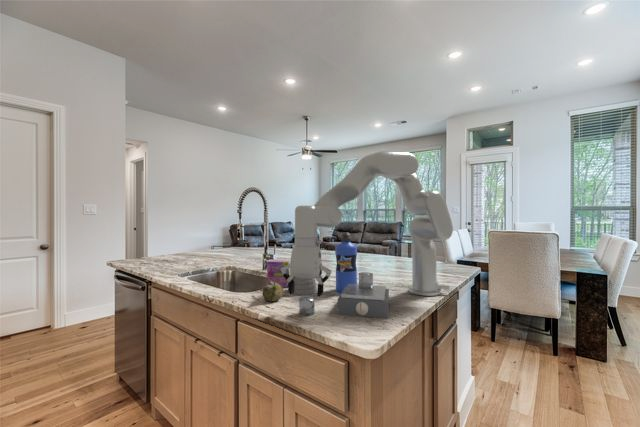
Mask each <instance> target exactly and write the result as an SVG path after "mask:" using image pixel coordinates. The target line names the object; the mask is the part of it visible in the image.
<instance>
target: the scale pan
mask: <svg viewBox="0 0 640 427" xmlns="http://www.w3.org/2000/svg"><path fill="white" fill-rule="evenodd" d="M386 289H387V286H386V285H373V288H372V289H361V288H359V284H357V285H355V284H348V285H347V286H346V288H345V289H344V291H343V292H342V294H341V293H340V295H341V298H351V299H366V300H381V301H385V293H386Z"/></svg>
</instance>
